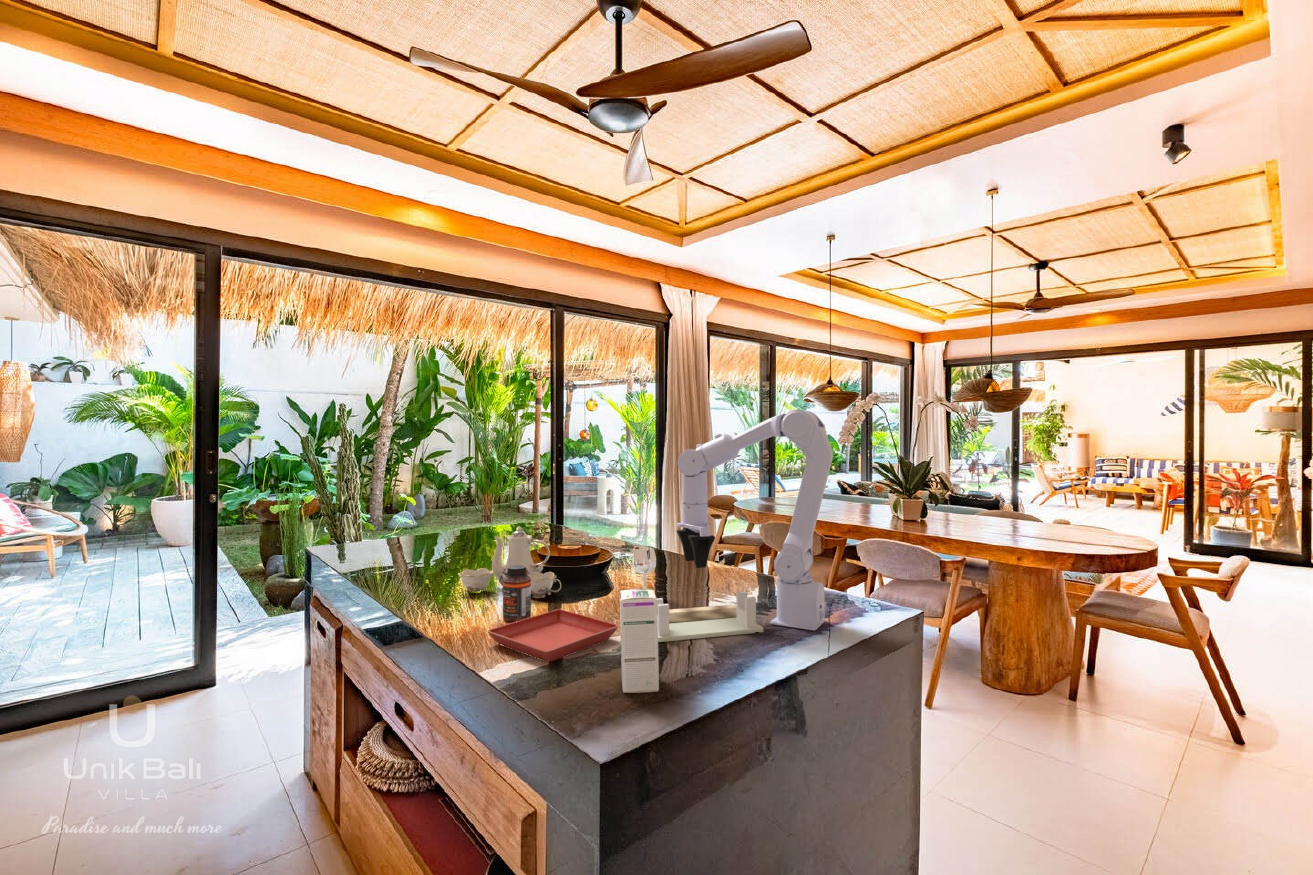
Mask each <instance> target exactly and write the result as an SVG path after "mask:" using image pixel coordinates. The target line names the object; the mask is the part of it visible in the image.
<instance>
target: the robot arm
mask: <svg viewBox="0 0 1313 875" xmlns="http://www.w3.org/2000/svg"><path fill="white" fill-rule="evenodd" d="M772 437H778V438H783V437H786V438H787V439H788V440H789V441H790V442H792V443H793V444H795V445H796V446H798V448H799V450H800V451H801V452H802V454H803V455H804V457H805V459H806V461H805V466H804V470H803V473H802V478H801V482H800V486H799V491H798V494H797V498H796V502H795V506H794V510H793V514H792V518H791V522H790V525H789V528H788V529H789V530H788V533H787V535H786V538H785V540H784V541H783V544H782V548H781V551H780V552H779V553H778V554H777V555H776V557H775V558H774V559H773V560H774V561H773V569H774V572H775V574H776V575H777V576H776V617H774V618H773V619H771V621H770V622H769V624H771V625H776V626H780V627H781V626H783V627H788V628H796V629H803V630H807V631H808V630H809V631H816V630H818V628H820V627H821V626H822V625H823V624H824V623H825V622H826V621H827V619H826V617H825V616H826V615H825V613H826V611H825V610H826V608H825V607H826V606H825V605H826V604H825V601H826V599H825V592H826V591H825V587H824V584H823V583H822V582H820V581H819V582H817V581H814V580H813V576H812V574H811V573H810V572H809V571H810V569H811V568H812V567H813V565H814V555H813V546H814V545H813V544H814V538H813V537H814V533H815V529H816V525H817V521H818V516H819V514H820V509H821V506H822V502H823V497H824V495H825V494H824V492H825V491H826V490H825V489H826V485H827V481H828V477H829V473H830V469H831V468H832V462H833V458H834V451H833V448H832V445H831V442H830V439H829V436H828V435H827V431H826V426H825V424H824V422H823V421H822V420H821V419H820V417H818V415H817V414H816V413H814V412H812V411H809V410H802V409H792V410H790V411H788V412H786V413H781V414H778V415H775V416H772V417H770V418H767V419H765V420H763V421H762V422H760V423H758V424H756V425H754V426H752V427H750V428H748V429H746V430H744V431H742V432H741V433H738V434H737V435H734V436H733V435H730V434H727V433H724V434H722V433H718V434H716V435H714V437H713V438H714V439H712V440H708V442H705V443H703V444H702V443H698V444H696V446H695V447H696V448H695V449H693V448H692V449H691V448H687V449H685V450H684V451H682V452H681V453H680V455H679V456H678V458H677V467H678V470H679V471H680V473H681V512H682V513H681V515H682V516H681V522H677V523H676V527H677V528H682V529H676V534H677V536H678V537H679V540H680V542H681V546H682V551H683V555H684V559H685V561H686V562H692V561H693V562H694V564H695V565H694V566H695V568H696V569H700V568H701V569H703V568H704V569H705V568H706V567H707V563H708V560H709V555H710V551H711V548H712V546H713V544H714V541H715V539H716V536H715V535H711V527H710V523H709V521H708V520H709V519H708V518H709V517H708V515H709V514H708V513H709V512H708V510H709V509H708V507H709V506H708V472H709V471H710V470H711V469H712V470H713V469H714V468H716V467H719V466H721V465H723V464H725V463H729V462H730V461H732V460H735V459H737V458H738V455H739V452H740V450H742V449H745V448H747V447H750V446H752V445H755V444H758V443H760V442H762V441H764V440H768V439H769V438H772Z"/></svg>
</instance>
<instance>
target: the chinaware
mask: <svg viewBox="0 0 1313 875" xmlns="http://www.w3.org/2000/svg"><path fill="white" fill-rule="evenodd" d="M515 530H516V531H513V532H512V533H511V535H510V536H507V537H506V540H507V544H508V556H507V560H506V564H503V562H502V556H503V547H504V546H503V540H502V538H501V537H500V536H498V535H496V536H495V535H494V536H493V538H494V539H495V541H496V547H495V551H494V554H493V557H492V560H491V570H489V569H488V568H486V567H482V568H478V569H476V570H474V569H464V570H463V571H462V572H458V573H457V576H459V578H460V579H461V583H462V586H464V588H465V589H466V590H468V591H469V592H471V591H480V590H482V591H483V590H484V589H486V587H488V585H489V584H490V582H491V578H492V575H493V576H494V577H495V578H496V579H497V580H498V583H499V584H500V585H501V586H502V587H503V579H504V578H505V577H506V576H507V574H508V573H507V568H508V567H509V566H512V565H525V566H526V574H527V575H528V576H529V577H530V578H531V596H532V598H534V599H541V598H545V597H546V594H547V595H548V596H551V595H552V594H551V593H552V592H553V593H558V592H559V591H561V588H562V583H561V581H560V580H559V579H558V578H557V574H555V573H554V572H552V571H548V572H544V573H543V572H542V571H543V569H544V564H545V563H547V561H548V560H549V558H550V553H551V551H550V548H549V545H548V544H547V543H546V541H543V540H540V539H532V537H533V535H531V534H530V535H529V534H527V533H526V532H525V531H524V530H523V528H522V527H521V526H520V525H518V526H517V528H516V529H515ZM531 539H532V540H531ZM536 543H540V544H542V545H543V546H544V548H546V557H545V559H544V560H543V561H542V562H539V563H535V564H534V561H533V558H532V555H531V547H532V548H536V546H537V544H536ZM556 582H558V583H559V589H557V590H552V587H553V584H554V583H556Z"/></svg>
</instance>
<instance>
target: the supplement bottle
mask: <svg viewBox="0 0 1313 875" xmlns="http://www.w3.org/2000/svg"><path fill="white" fill-rule="evenodd" d="M507 573H508V574H507V576H506V577H505V578H504V579H503V586H502V619H503V620H504V621H506V622H508V621H514V622H516V621H520V620H523V619H526V618H530V617H532V616H531V615H532V594H531V578H530V577H529V576H528V575H527V574H526V566H525V565H512V566H509V567H508V568H507Z"/></svg>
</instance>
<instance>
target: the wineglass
mask: <svg viewBox="0 0 1313 875" xmlns="http://www.w3.org/2000/svg"><path fill="white" fill-rule="evenodd" d="M631 560H632V568H633V570H634V571H635V572H636V573H638V574H640V575H642V578H641V579H642V583H643V584H642V585H643V589H646V584H647V575H649V574H652V572H654V570H656V566H657V557H656V552H655V548H654V547H653V546H647V545H646V546H645V545H644V546H643V545H641V546H635V547H634V549H633V554H632V558H631Z"/></svg>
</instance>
